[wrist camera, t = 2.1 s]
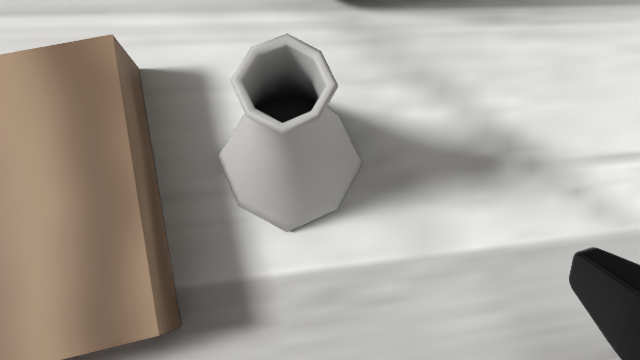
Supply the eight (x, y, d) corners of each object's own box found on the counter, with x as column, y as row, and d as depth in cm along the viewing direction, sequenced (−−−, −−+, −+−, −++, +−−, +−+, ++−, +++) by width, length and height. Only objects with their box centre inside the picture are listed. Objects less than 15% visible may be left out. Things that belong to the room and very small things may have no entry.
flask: (194, 156, 23) (119, 73, 14) (294, 73, 25) (292, -58, 15) (285, 257, 23) (275, 244, 13) (384, 165, 24) (444, 89, 14)
